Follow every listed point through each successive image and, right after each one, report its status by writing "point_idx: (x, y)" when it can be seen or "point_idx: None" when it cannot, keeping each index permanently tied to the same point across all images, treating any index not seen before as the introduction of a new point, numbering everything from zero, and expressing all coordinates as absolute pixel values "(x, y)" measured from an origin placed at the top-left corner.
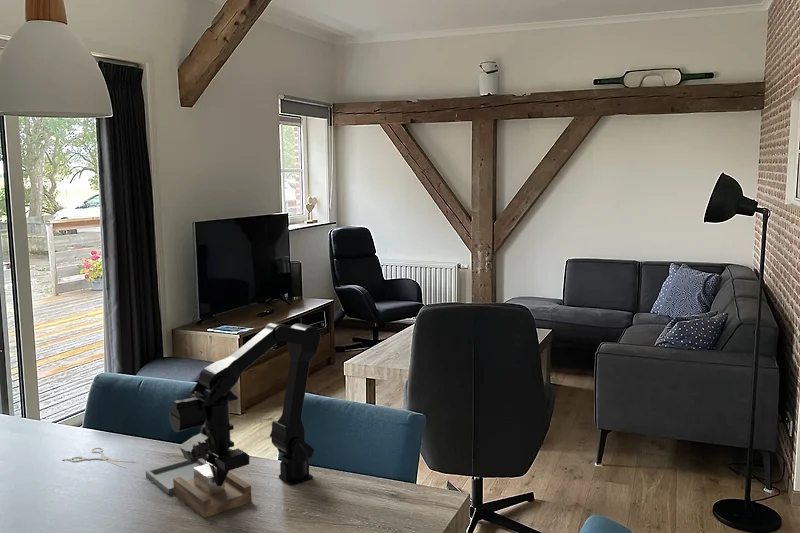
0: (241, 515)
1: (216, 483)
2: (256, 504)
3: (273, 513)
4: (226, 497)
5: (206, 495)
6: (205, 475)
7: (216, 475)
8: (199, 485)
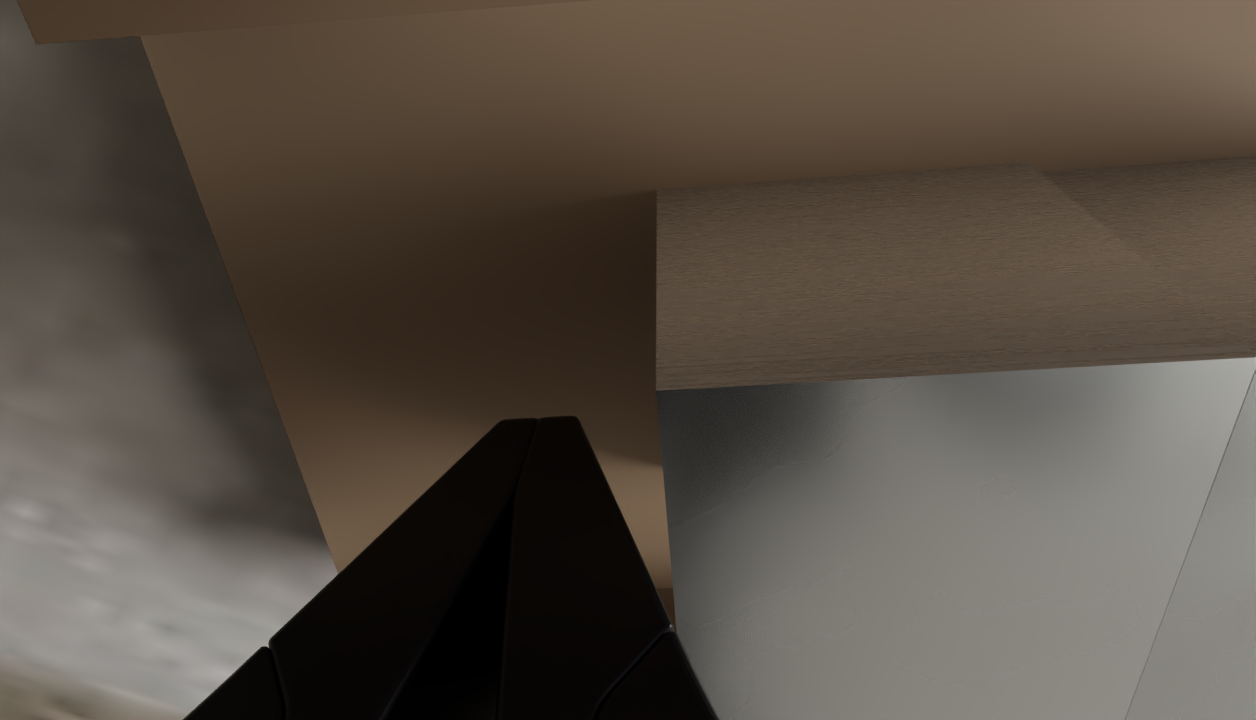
0: (91, 346)
1: (541, 440)
2: (322, 570)
3: (24, 601)
4: (360, 379)
5: (658, 127)
6: (948, 399)
7: (342, 621)
8: (1160, 179)
